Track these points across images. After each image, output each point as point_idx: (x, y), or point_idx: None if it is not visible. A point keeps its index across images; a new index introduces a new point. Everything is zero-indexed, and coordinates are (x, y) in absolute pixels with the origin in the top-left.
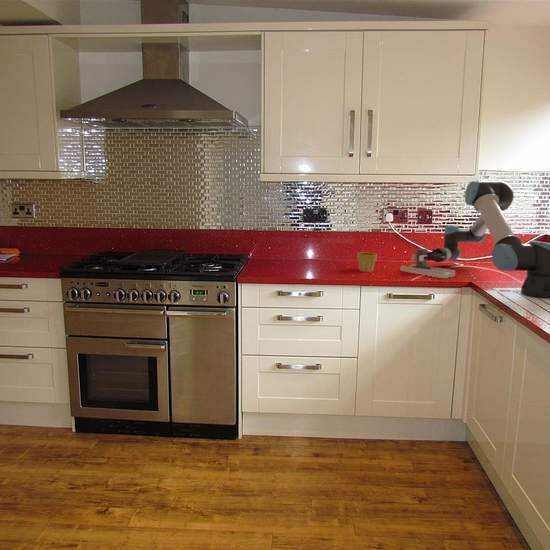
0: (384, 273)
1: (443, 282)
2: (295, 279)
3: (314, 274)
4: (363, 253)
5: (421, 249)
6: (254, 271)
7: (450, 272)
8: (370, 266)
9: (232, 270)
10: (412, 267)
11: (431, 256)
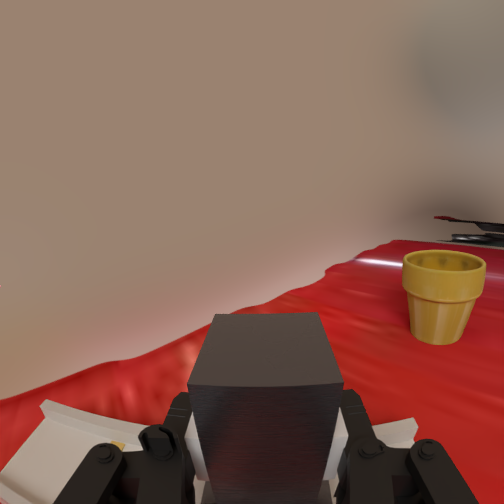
0: (358, 351)
1: (67, 381)
2: (363, 253)
3: (397, 267)
4: (479, 265)
5: (244, 315)
6: (434, 245)
7: (12, 487)
8: (409, 310)
9: (442, 240)
10: None
11: (128, 462)
